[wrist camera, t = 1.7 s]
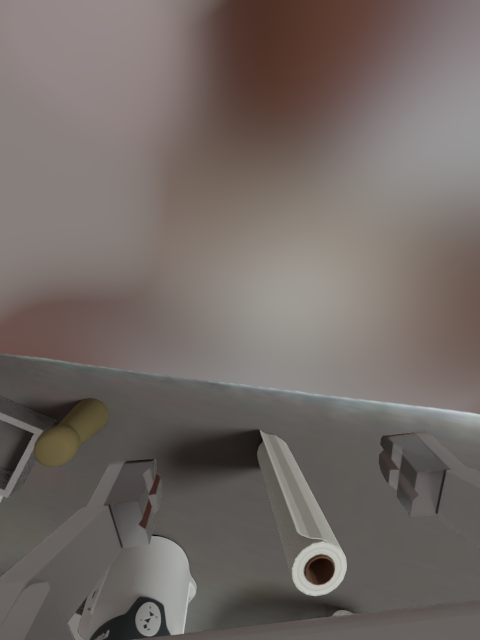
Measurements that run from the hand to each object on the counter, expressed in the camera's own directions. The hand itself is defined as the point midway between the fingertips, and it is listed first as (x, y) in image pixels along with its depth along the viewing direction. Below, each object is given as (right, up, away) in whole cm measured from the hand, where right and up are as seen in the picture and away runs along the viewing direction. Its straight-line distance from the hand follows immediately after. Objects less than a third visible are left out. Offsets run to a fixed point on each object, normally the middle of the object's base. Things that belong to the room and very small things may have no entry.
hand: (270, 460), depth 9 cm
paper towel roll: (+5, -19, +38) cm, 43 cm away
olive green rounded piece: (-27, -11, +35) cm, 45 cm away
